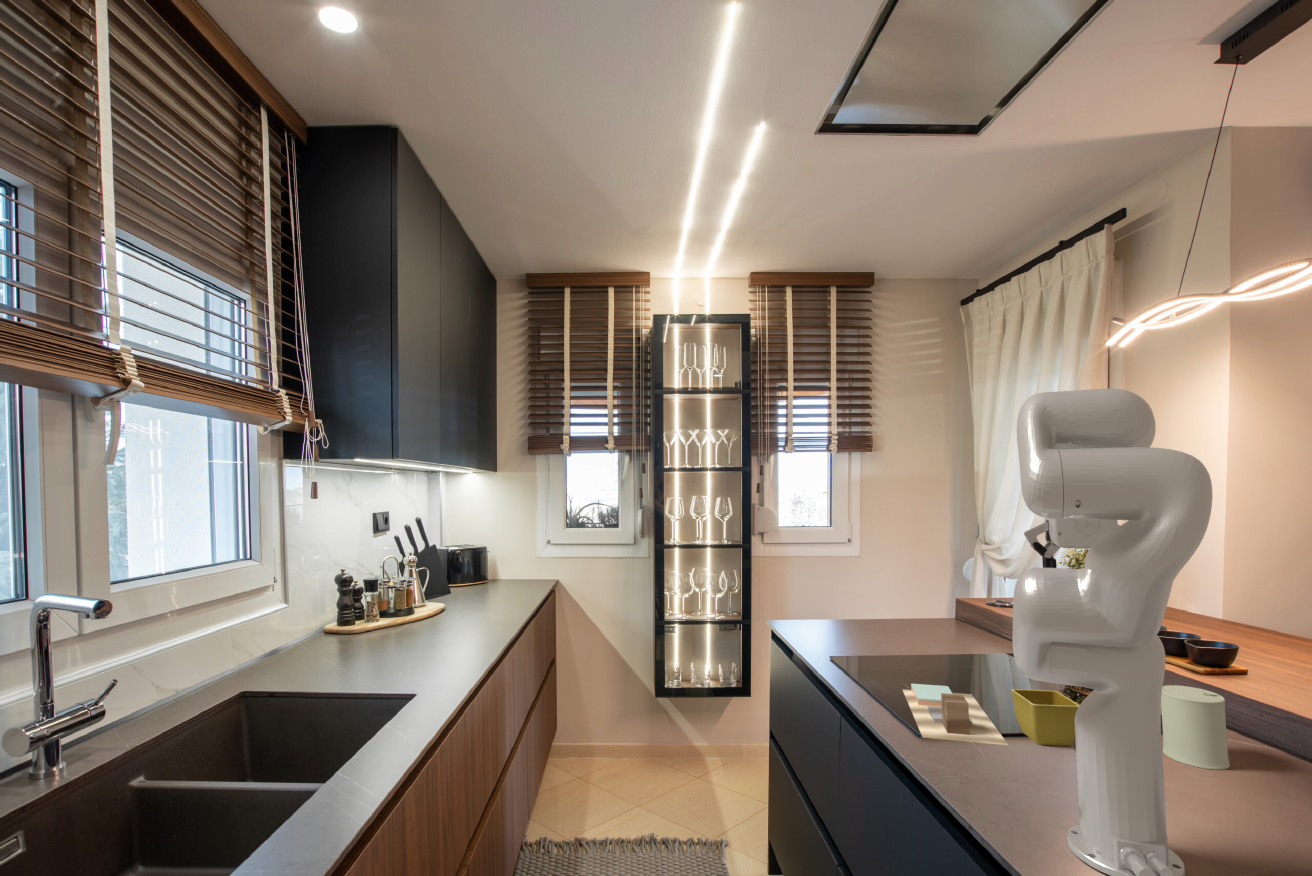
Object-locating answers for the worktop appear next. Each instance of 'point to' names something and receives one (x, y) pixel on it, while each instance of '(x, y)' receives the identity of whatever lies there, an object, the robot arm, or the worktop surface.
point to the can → (1194, 727)
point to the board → (979, 733)
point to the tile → (929, 694)
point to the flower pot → (1045, 716)
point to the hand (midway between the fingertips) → (1082, 581)
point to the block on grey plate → (952, 714)
